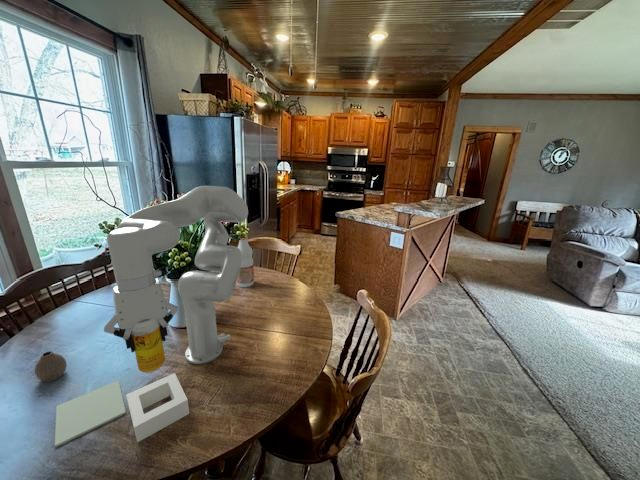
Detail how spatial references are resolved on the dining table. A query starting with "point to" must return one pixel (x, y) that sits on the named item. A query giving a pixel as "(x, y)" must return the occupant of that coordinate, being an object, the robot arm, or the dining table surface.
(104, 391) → the mat
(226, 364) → the dining table surface
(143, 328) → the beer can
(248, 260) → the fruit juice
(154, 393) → the sleeve
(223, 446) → the dining table surface
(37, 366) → the vase
